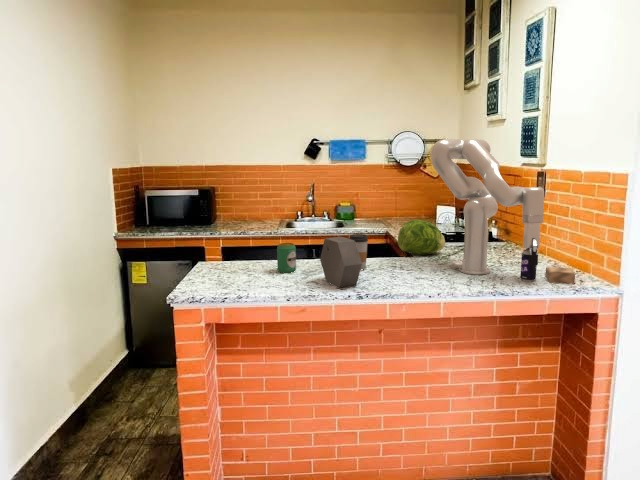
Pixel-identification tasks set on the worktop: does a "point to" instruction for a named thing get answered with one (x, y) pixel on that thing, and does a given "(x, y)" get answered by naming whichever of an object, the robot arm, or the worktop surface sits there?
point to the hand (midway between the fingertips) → (531, 262)
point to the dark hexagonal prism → (340, 261)
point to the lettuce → (420, 238)
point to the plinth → (560, 275)
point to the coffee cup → (361, 247)
